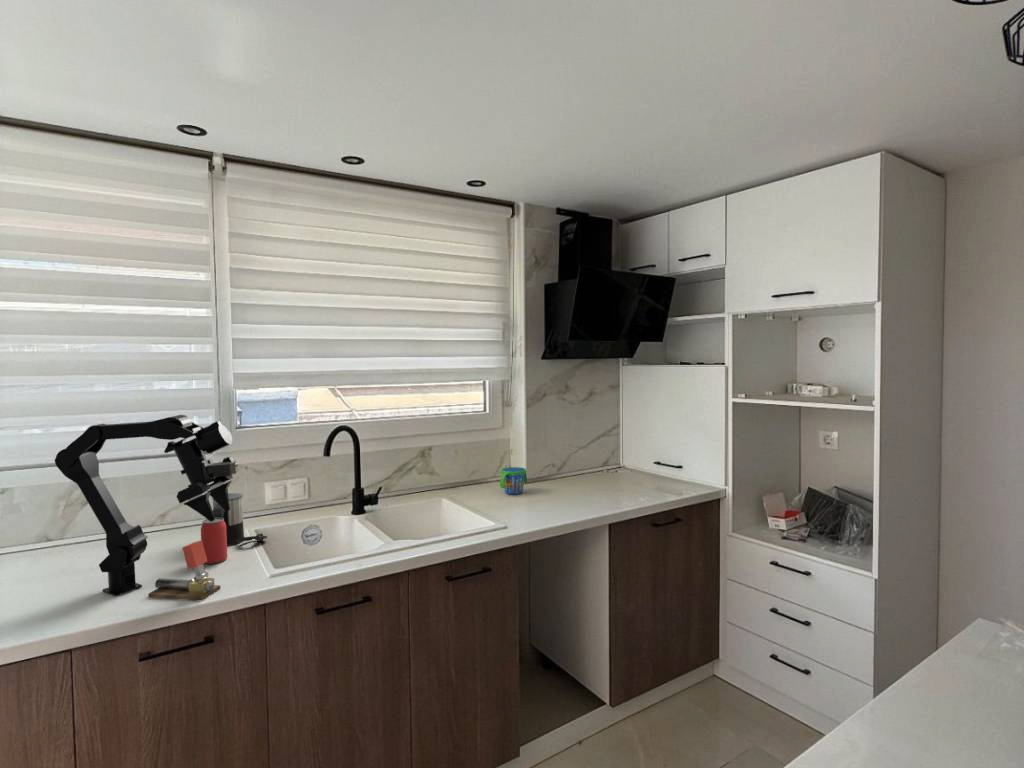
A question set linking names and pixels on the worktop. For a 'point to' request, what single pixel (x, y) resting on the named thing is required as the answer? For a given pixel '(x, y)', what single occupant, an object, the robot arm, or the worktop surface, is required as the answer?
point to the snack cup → (513, 480)
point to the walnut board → (180, 594)
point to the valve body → (186, 585)
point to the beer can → (214, 540)
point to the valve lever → (196, 559)
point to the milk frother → (234, 520)
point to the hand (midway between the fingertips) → (220, 515)
